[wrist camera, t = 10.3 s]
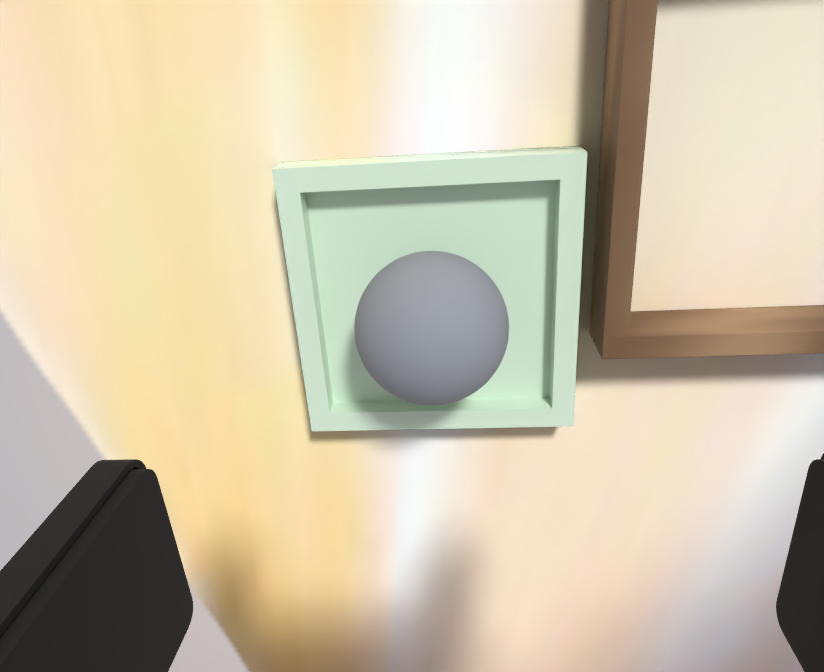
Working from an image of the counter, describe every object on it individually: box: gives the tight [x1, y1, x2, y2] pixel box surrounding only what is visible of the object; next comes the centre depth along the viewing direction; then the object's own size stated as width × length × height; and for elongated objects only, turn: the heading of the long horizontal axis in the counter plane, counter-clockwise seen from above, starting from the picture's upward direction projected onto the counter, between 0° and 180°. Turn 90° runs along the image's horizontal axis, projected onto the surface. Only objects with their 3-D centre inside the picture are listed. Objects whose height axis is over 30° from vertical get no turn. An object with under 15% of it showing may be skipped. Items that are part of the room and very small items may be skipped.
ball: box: [354, 251, 509, 406], centre depth 20 cm, size 5×5×5 cm
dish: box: [272, 146, 587, 431], centre depth 22 cm, size 10×10×1 cm
